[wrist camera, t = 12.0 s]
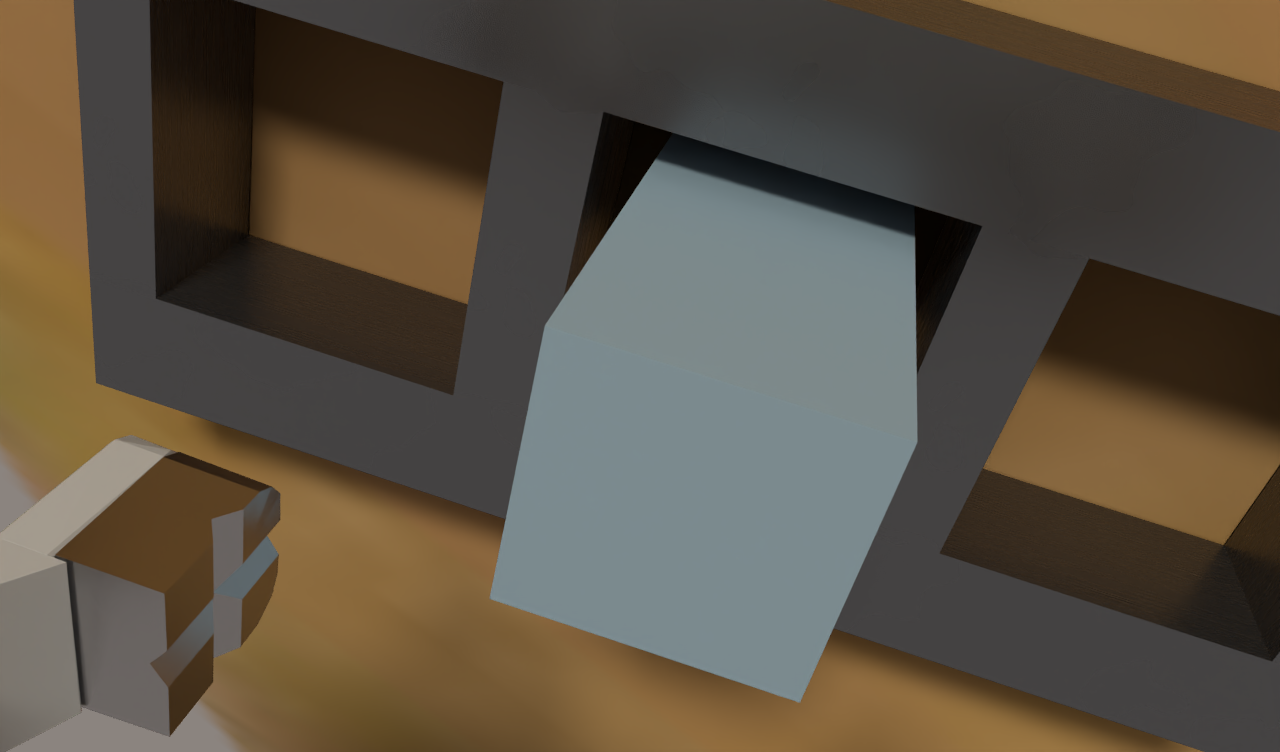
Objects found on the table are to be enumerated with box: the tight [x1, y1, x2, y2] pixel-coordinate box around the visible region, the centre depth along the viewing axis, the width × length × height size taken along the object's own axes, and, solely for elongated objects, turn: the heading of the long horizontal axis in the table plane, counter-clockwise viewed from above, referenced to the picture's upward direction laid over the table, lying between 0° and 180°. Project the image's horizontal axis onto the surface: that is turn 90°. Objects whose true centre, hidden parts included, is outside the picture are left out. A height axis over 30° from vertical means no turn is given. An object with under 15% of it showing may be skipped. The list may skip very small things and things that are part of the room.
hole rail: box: [74, 0, 1280, 752], centre depth 17 cm, size 22×10×3 cm, turn 77°
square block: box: [490, 133, 917, 703], centre depth 15 cm, size 4×4×8 cm
